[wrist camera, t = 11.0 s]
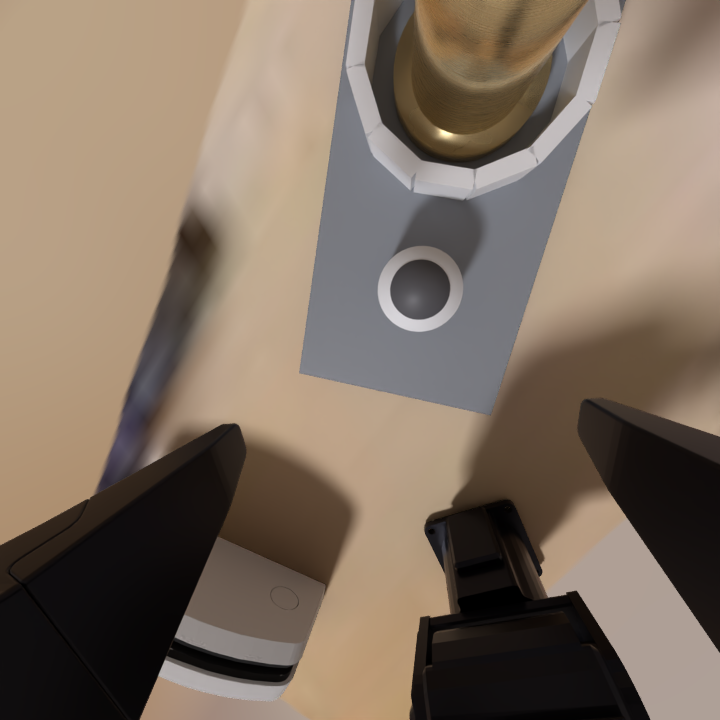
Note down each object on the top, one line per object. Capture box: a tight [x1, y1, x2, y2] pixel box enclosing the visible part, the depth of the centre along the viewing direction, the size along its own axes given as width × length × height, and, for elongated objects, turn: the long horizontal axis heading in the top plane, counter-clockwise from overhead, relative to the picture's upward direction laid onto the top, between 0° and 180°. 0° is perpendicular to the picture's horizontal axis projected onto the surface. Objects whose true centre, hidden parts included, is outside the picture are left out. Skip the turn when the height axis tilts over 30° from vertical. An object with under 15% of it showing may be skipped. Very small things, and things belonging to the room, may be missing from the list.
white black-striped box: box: [158, 537, 326, 701], centre depth 24 cm, size 17×5×10 cm, turn 68°
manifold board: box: [299, 0, 626, 415], centre depth 17 cm, size 23×12×5 cm, turn 170°
